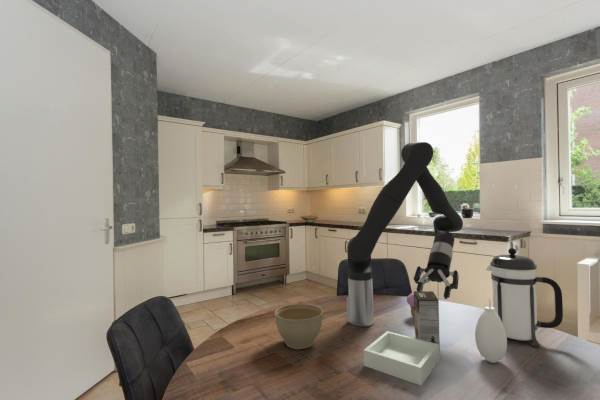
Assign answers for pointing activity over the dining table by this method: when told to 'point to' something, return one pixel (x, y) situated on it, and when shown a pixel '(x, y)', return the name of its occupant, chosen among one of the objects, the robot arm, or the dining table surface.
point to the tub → (402, 357)
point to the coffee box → (426, 316)
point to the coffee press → (520, 296)
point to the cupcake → (411, 303)
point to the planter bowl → (299, 324)
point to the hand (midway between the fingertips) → (432, 295)
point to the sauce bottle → (491, 335)
